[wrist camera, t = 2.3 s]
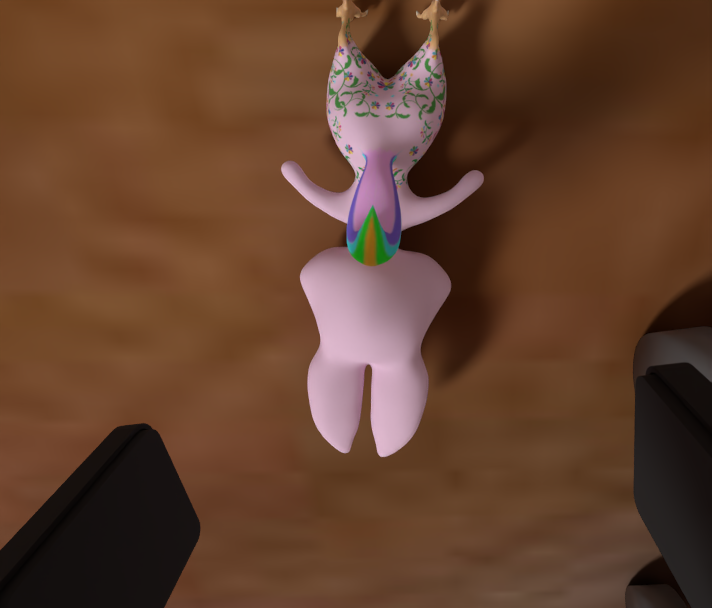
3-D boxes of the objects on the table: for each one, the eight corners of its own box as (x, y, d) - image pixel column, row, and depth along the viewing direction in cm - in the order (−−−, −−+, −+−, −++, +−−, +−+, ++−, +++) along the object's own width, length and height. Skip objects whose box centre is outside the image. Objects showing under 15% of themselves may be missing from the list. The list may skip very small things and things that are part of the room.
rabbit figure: (299, 24, 15) (293, 423, 19) (238, -69, 9) (248, 528, 13) (489, 29, 15) (441, 437, 19) (547, -65, 9) (460, 552, 13)
